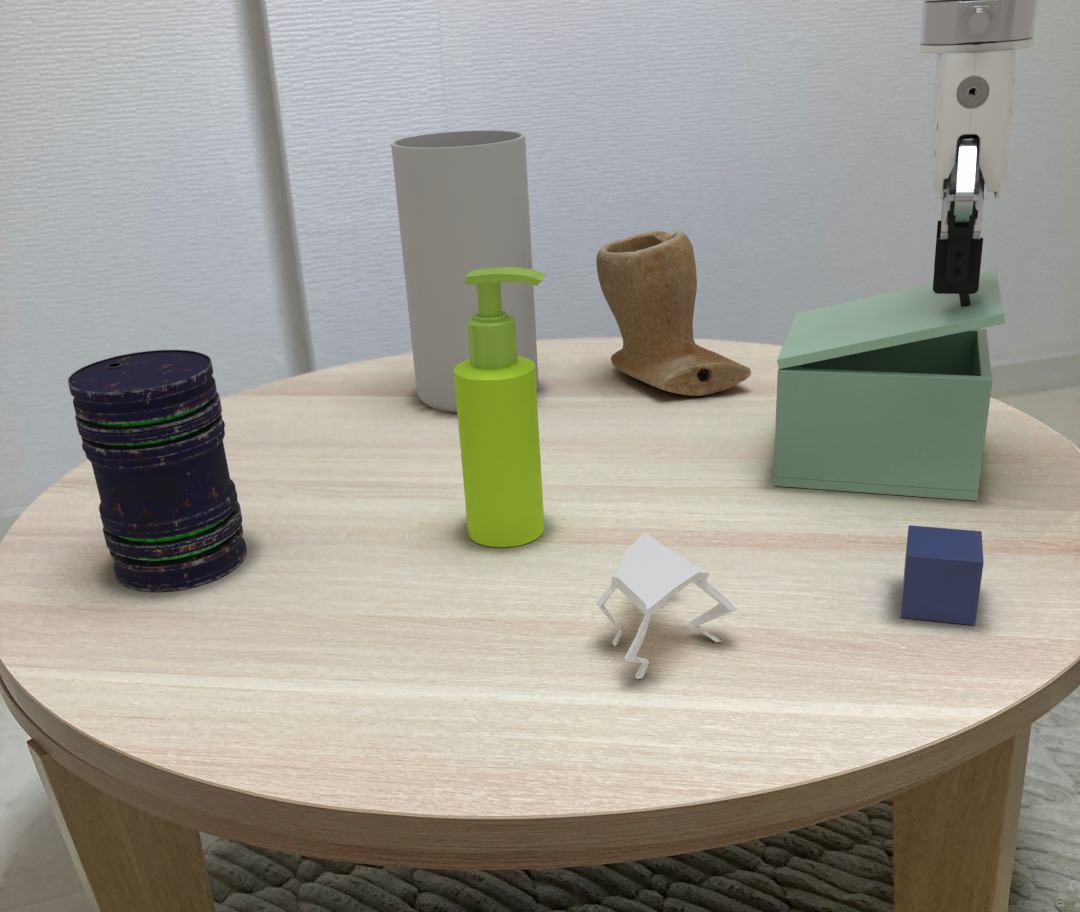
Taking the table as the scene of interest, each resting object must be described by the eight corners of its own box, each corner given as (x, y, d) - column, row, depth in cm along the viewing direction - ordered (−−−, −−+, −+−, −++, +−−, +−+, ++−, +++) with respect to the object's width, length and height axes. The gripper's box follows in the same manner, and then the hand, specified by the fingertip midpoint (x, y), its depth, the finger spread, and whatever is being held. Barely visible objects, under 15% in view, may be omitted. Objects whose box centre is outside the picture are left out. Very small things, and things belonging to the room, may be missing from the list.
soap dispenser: (551, 548, 84) (537, 279, 75) (460, 546, 85) (435, 281, 77) (562, 515, 89) (550, 259, 81) (476, 513, 91) (455, 261, 82)
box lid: (997, 278, 93) (987, 208, 91) (1005, 323, 82) (993, 244, 80) (798, 321, 100) (783, 257, 98) (779, 369, 88) (762, 297, 86)
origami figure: (754, 667, 68) (756, 596, 66) (619, 689, 67) (617, 617, 65) (691, 578, 79) (691, 513, 77) (574, 595, 78) (571, 530, 76)
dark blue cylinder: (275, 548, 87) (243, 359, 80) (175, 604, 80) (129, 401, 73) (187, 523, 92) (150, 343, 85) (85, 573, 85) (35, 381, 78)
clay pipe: (582, 371, 122) (576, 229, 115) (679, 353, 126) (680, 215, 119) (647, 413, 109) (645, 256, 103) (753, 391, 113) (758, 239, 107)
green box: (973, 438, 99) (986, 328, 95) (977, 501, 88) (992, 379, 84) (791, 427, 104) (796, 322, 100) (772, 486, 92) (777, 370, 88)
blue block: (973, 591, 75) (981, 530, 73) (975, 625, 72) (983, 562, 70) (902, 585, 77) (908, 524, 75) (900, 618, 73) (906, 555, 71)
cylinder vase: (484, 368, 125) (466, 127, 114) (564, 390, 117) (552, 133, 106) (393, 397, 117) (364, 143, 106) (471, 424, 109) (448, 151, 98)
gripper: (1042, 29, 72) (1012, 311, 79) (1027, 19, 86) (1003, 258, 94) (917, 36, 74) (899, 310, 82) (923, 25, 89) (907, 258, 96)
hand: (955, 279), depth 88 cm, fingers closed on box lid, 6 cm apart
